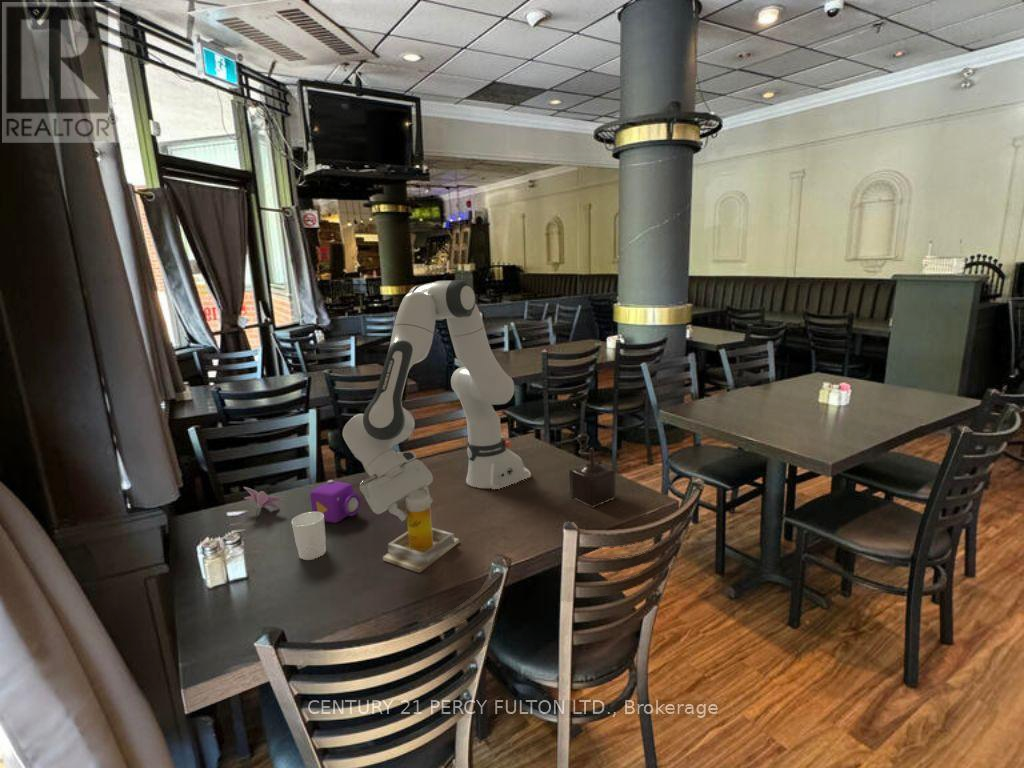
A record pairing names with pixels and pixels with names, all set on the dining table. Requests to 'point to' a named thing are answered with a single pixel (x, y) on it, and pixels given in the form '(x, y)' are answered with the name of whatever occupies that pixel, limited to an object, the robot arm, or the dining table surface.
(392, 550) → the socket board
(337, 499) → the toy camera
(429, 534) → the glass of beer
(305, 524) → the white cup
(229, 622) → the dining table surface
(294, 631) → the dining table surface
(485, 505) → the dining table surface
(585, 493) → the pepper mill
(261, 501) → the lily
